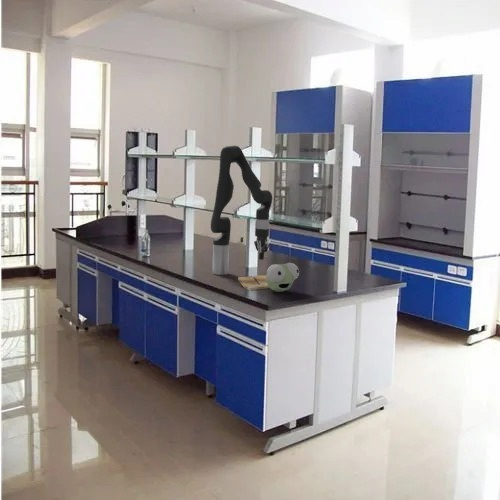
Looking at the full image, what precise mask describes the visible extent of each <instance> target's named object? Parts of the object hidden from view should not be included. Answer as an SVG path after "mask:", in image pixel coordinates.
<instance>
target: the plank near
mask: <svg viewBox="0 0 500 500" xmlns="http://www.w3.org/2000/svg"><path fill="white" fill-rule="evenodd" d="M237 280H238V282H239V283H240V284H241V285H242V287H243V288H244V289H245V287H246V286H253V285H259V284H258V283H257V282H256V281H255V279H254V278H253V275H250V276H238V277H237Z"/></svg>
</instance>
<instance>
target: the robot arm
mask: <svg viewBox="0 0 500 500" xmlns="http://www.w3.org/2000/svg"><path fill="white" fill-rule="evenodd" d="M219 155H220V157H219V169H218V170H219V172H218V181H217V186H216V191H215V192H216V193H215V200H214V201H215V202H214V207H213V212H212V214H211V220H210V230H211V232H212V233H214V234H220V235H219V236H217V237H216V238H214V239H213V240H212V270H211V271H212V272H211V273H212V274H213V275H217V276H224V275H225V276H226V275H228V274H229V261H230V260H229V258H230V256H229V255H230V239H231V226H232V225H231V223H232V222H231V219H230V217H228V216H222V214H223V211H224V210H225V208H226V207H227V205H228V204H229V203H230V201H231V200H232V198H233V193H234V182H233V179H232V176H231V166H232V165H231V164H234V163H236V164H237V165H238V167H239V168H240V171H241V177H242V180H243V182H244V184H245V185H246V186H247V188H248V189H249V192H250V194H251V197H252V199H253V201H254V202H256V203H257V204H258V205H260V206H259V207H258V208H257V209H256V210H255V223H254V226H255V227H254V236H255V237H256V240H255V241H253V243H254V247H255V250H256V251H257V253H258V260H261V261H262V260H265V253H266V252H268V250H269V248H270V245H271V244H270V243H268V238H269V236H270V210H271V207H272V203H273V194H272V192H271V191H270V190H267V189H266V190H265V189H264V190H263V189H261V188H262V183H261V181H260V180H259V178H258V177H257V176H256V174H255V173H254V171H253V170H252V168H251V167H250V164H249V162H248V160H247V158H246V157H245V156H246V155H245V154H244V151H243V150H242V149H241V148H240V147H239V146H238V145H227V146H226V145H225V146H223V147H222V148H221V149H220V154H219Z"/></svg>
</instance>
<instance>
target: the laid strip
mask: <svg viewBox="0 0 500 500" xmlns="http://www.w3.org/2000/svg"><path fill="white" fill-rule="evenodd" d="M244 289H246V290H248V291H255V290H256V291H257V290H265V289H271V288H270V287H269V286H268V284H263V285H253V286H246V287H245V288H244Z"/></svg>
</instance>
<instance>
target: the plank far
mask: <svg viewBox="0 0 500 500" xmlns="http://www.w3.org/2000/svg"><path fill="white" fill-rule="evenodd" d="M252 277H253V278H254V279H255V281H256V282H257V283H258V284H259V285H263V284H267V282H266V274H263V275H252Z"/></svg>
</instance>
